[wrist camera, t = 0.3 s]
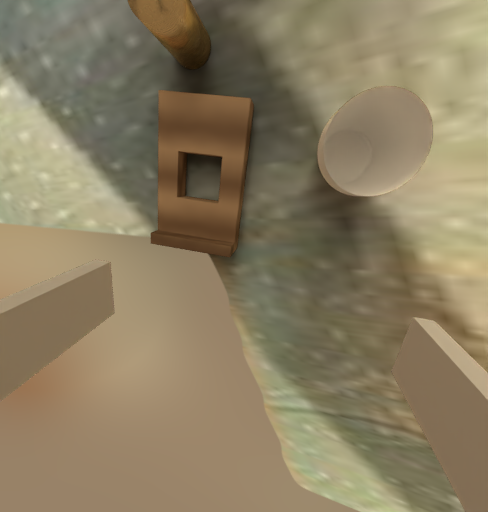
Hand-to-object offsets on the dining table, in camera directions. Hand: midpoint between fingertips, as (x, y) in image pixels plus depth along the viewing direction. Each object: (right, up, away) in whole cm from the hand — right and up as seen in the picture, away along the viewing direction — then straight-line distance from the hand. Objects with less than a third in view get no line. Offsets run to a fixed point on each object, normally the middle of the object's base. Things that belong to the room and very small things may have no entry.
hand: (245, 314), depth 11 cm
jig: (-6, +14, +25) cm, 30 cm away
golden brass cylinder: (-7, +30, +21) cm, 37 cm away
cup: (+13, +16, +22) cm, 30 cm away
